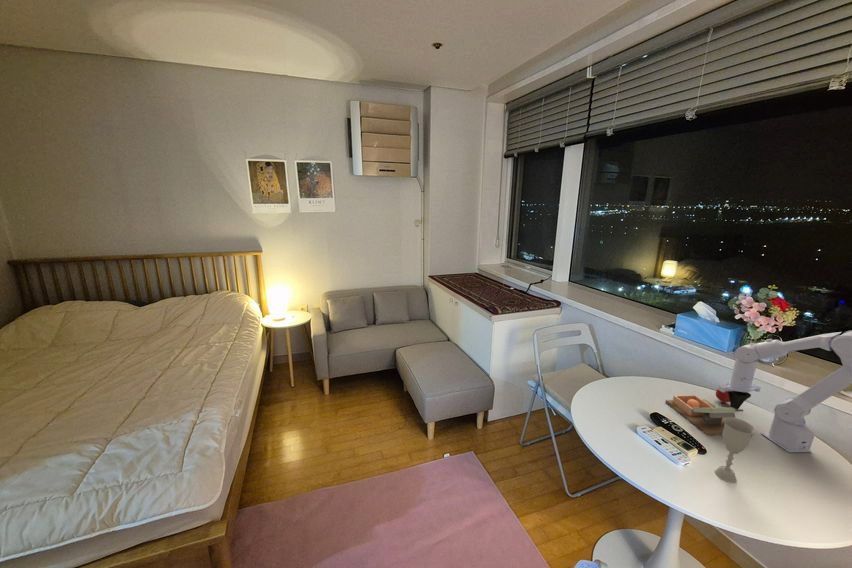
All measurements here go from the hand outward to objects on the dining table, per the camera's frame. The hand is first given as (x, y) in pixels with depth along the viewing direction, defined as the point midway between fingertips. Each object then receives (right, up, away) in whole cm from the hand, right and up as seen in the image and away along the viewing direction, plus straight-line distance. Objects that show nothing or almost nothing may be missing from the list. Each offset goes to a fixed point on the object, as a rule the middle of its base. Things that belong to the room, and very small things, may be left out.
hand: (734, 407), depth 127 cm
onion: (+6, -2, +11) cm, 13 cm away
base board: (-10, -4, +2) cm, 11 cm away
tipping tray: (-7, -2, -4) cm, 9 cm away
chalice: (-27, -11, -26) cm, 39 cm away
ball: (-12, 0, +5) cm, 13 cm away
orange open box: (-12, -3, +5) cm, 14 cm away
